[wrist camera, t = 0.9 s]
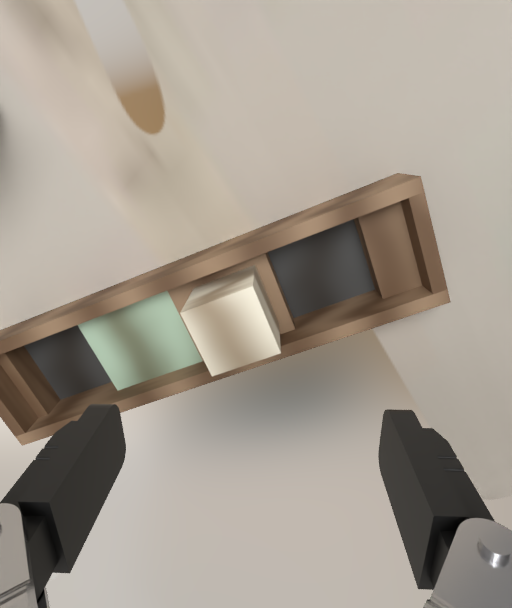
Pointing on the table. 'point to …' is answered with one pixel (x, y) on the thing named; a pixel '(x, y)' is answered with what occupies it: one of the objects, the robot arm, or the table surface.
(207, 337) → the cream cube
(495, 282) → the table surface
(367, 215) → the tray
